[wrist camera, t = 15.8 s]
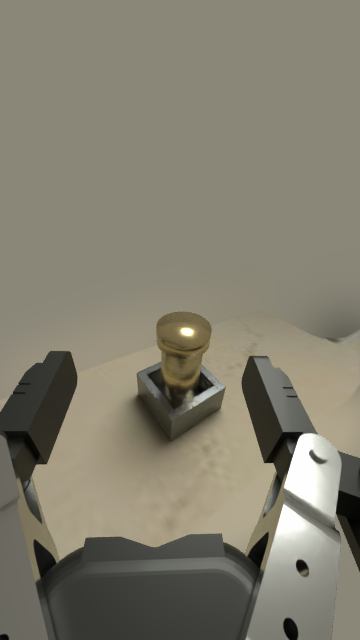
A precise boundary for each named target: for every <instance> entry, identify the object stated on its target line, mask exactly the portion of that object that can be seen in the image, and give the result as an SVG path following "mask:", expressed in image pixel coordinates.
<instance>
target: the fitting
mask: <svg viewBox="0 0 360 640" xmlns="http://www.w3.org/2000/svg"><path fill="white" fill-rule="evenodd" d="M156 328H157V345H158V347H159V349H160V350H161V351H162V365H161V394H162V395H163V396H164V397H165V399H166V400H167V401H168V403H169V404H170V405H171V406H172V408H173V409H174V410H175V409H176V408H178V407H180V406H181V405H183V404H185V403H186V402H188V401H190V400H191V399H193V398H195V397H196V396H197V390H198V383H199V376H200V369H201V362H202V355H203V353H205V352H206V351H207V349H208V347H209V343H210V336H211V325H210V323H209V322H208V321H207V320H206V319H205V318H203V317H202V316H200V315H197V314H194V313H190V312H174V313H170V314H167V315H165V316H163V317H162V318H161V319H160V320H159V321H158V323H157V327H156Z"/></svg>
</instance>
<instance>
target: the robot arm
mask: <svg viewBox="0 0 360 640" xmlns="http://www.w3.org/2000/svg"><path fill="white" fill-rule="evenodd" d="M76 386H77V372H76V369H75V366H74V362H73V358H72V355H71V353H70V352H69V351H50V352H49V353H48V355H47V356H46V358H45V360H44V362H43V363H36V364H35V365H33V366H32V367H31V368H30V369H29V370H28V371H26V372H25V374H24V376H23V377H22V379H21V380H20V382H19V385H17V387H16V388H15V390H14V391H13V394H12V395H11V396H10V398H9V399H8V401H7V402H6V404H5V406H4V407H3V409H2V410H1V412H0V640H331V638H332V629H333V620H334V610H335V600H336V590H337V581H338V571H339V561H340V552H341V537H340V533H339V531H337V530H336V529H335V524H334V523H335V514H337V517H338V519H339V522H340V524H341V526H342V529H343V532H344V534H345V536H346V539H347V542H348V544H349V546H350V548H351V551H352V554H353V556H354V559H355V561H356V564H357V566H358V569H359V571H360V458H358V457H354V456H351V455H348V454H345V453H342V452H339V451H337V450H336V449H335V447H334V446H333V445H332V444H331V443H330V442H329V441H328V440H326V439H325V438H323V437H321V436H319V435H318V434H317V432H316V430H315V429H314V427H313V425H312V423H311V421H310V419H309V417H308V415H307V413H306V411H305V409H304V407H303V405H302V403H301V401H300V399H299V398H298V395H297V393H296V391H295V390H294V389H293V386H292V384H291V382H290V380H289V378H288V376H287V375H286V374H285V373H284V372H283V371H282V370H281V369H280V368H273V365H272V363H271V361H270V359H269V358H268V357H267V356H250V357H249V359H248V362H247V365H246V368H245V371H244V374H243V377H242V390H243V394H244V397H245V400H246V404H247V407H248V410H249V414H250V417H251V420H252V424H253V427H254V430H255V434H256V437H257V441H258V444H259V447H260V451H261V454H262V457H263V461H264V463H274V465H275V468H276V472H275V474H274V477H273V480H272V483H271V486H270V489H269V492H268V495H267V498H266V501H265V504H264V507H263V510H262V513H261V516H260V518H259V521H258V523H257V525H256V527H255V529H254V531H253V533H252V536H251V539H250V541H249V544H248V547H247V549H246V552H245V554H244V553H242V552H241V551H240V550H238V549H237V548H235V547H233V546H231V545H229V544H227V543H224V542H223V538H222V534H191V535H187V536H184V537H182V538H179V539H177V540H174V541H172V542H169V543H167V544H164V545H162V546H159V547H150V546H147V545H144V544H141V543H138V542H135V541H132V540H129V539H126V538H123V537H95V538H86V539H85V544H84V547H82V548H79V549H77V550H76V551H74V552H72V553H70V554H69V555H67V556H66V557H64V558H63V559H61V560H60V559H59V556H58V553H57V549H56V546H55V544H54V541H53V539H52V536H51V534H50V532H49V530H48V528H47V525H46V522H45V519H44V515H43V512H42V509H41V505H40V502H39V498H38V495H37V492H36V488H35V485H34V482H33V478H32V476H31V475H32V473H33V470H34V468H35V466H36V464H47V462H48V460H49V457H50V454H51V452H52V449H53V447H54V444H55V441H56V439H57V436H58V434H59V431H60V428H61V426H62V423H63V420H64V418H65V415H66V413H67V410H68V407H69V405H70V402H71V400H72V397H73V394H74V392H75V389H76Z"/></svg>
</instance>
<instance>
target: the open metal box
mask: <svg viewBox="0 0 360 640" xmlns="http://www.w3.org/2000/svg"><path fill="white" fill-rule="evenodd" d="M161 365H162V361H161V362H159V363H157V364H155V365H153V366H151V367H148V368H146V369H144V370H142V371H140V372H138V373H137V382H138V394H139V395H140V397H141V398H142V400H143V401H144V403H145V404H146V406H147V407H148V408H149V410H150V411H151V413H152V414H153V416H154V417H155V419H156V420H157V422H158V423H159V424H160V426H161V427H162V429H163V430H164V432H165V433H166V435H167V436H168V438H169V439H170V441H172V440H173V439H175V438H176V437H178V436H179V435H181V434H182V433H184V432H185V431H187V430H188V429H190V428H191V427H193V426H194V425H196V424H197V423H199V422H200V421H202V420H203V419H205V418H206V417H207V416H209V415H210V414H212V413H213V412H215V411H216V410H218V409H219V408H221V404H222V400H223V396H224V392H225V388H226V387H225V386H224V385H223V384H222V383H221V382H220V381H219V380H218V379H217V378H216V377H215V376H214V375H212V374H211V373H210V372H209V371H208V370H207V369H206V368H205V367H204V366H203V365H202V364H201V369H200V376H199V383H198V390H197V396H196V397H195V398H193V399H191V400H190V401H188V402H186V403H185V404H183V405H181V406H180V407H178V408H176V409H175V410H174V409H173V408H172V406H171V405H170V404H169V403H168V401H167V400H166V399H165V397H164V396H163V395H162V394H161Z"/></svg>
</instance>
